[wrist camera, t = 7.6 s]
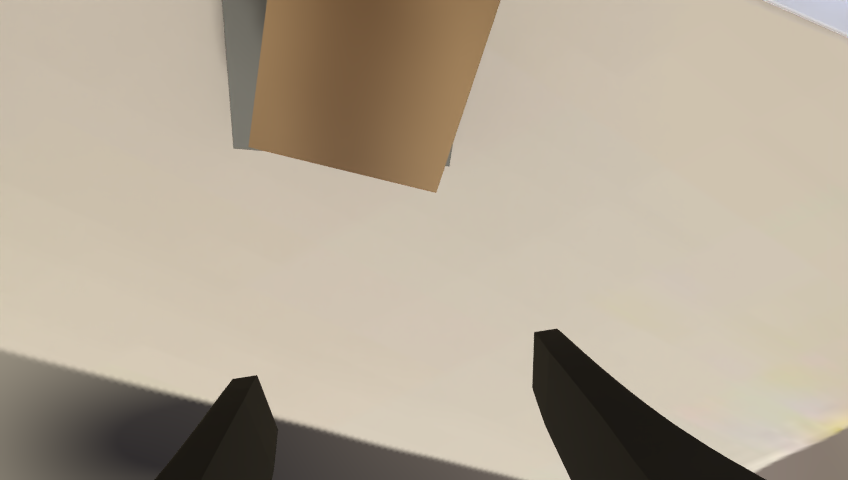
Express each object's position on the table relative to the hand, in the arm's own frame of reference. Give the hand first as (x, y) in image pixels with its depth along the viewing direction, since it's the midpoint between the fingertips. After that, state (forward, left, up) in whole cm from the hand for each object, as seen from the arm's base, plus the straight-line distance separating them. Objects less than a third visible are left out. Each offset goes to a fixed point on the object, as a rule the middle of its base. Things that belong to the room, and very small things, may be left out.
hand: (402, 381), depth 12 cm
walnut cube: (+3, -7, -8) cm, 11 cm away
